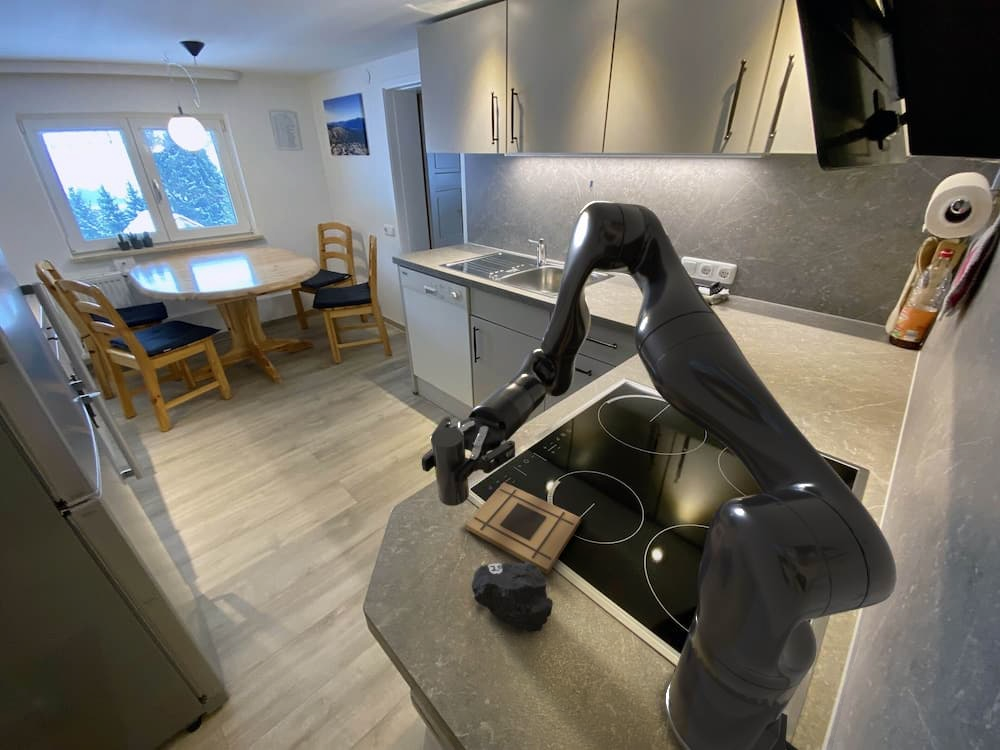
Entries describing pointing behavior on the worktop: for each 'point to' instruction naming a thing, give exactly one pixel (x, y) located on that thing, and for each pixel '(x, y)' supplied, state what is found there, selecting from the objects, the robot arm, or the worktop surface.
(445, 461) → the tall black cylinder
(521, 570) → the mineral
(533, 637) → the worktop surface
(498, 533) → the board
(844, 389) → the worktop surface
